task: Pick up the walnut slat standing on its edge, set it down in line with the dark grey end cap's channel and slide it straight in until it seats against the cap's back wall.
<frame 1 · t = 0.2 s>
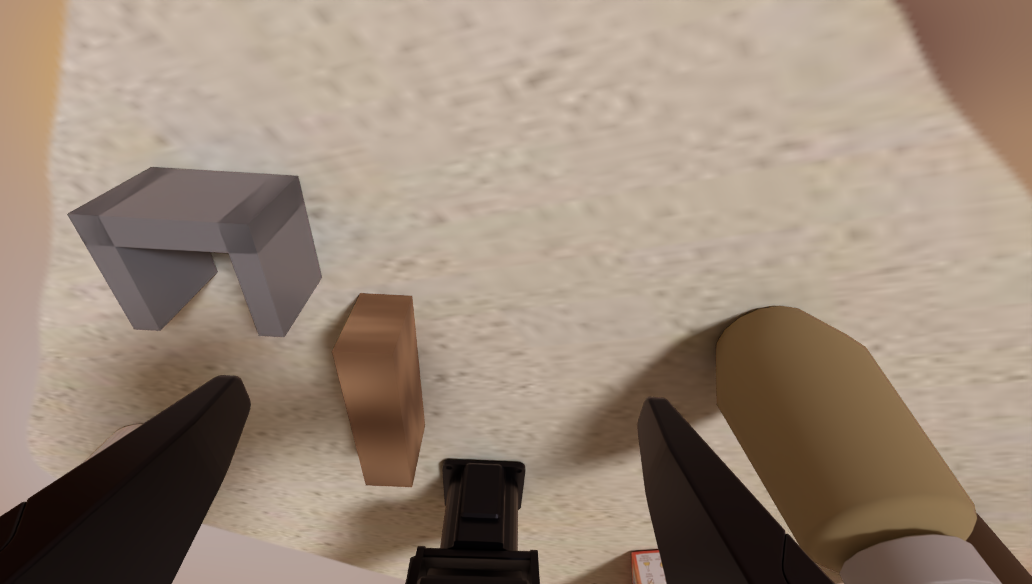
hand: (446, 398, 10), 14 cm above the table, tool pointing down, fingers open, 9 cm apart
olive oil: (915, 528, 42), on the table
end cap: (243, 226, 24), on the table
cracker box: (658, 575, 48), on the table
slat: (397, 365, 30), on the table
ramekin: (171, 450, 36), on the table
squeeze bottle: (761, 338, 28), on the table
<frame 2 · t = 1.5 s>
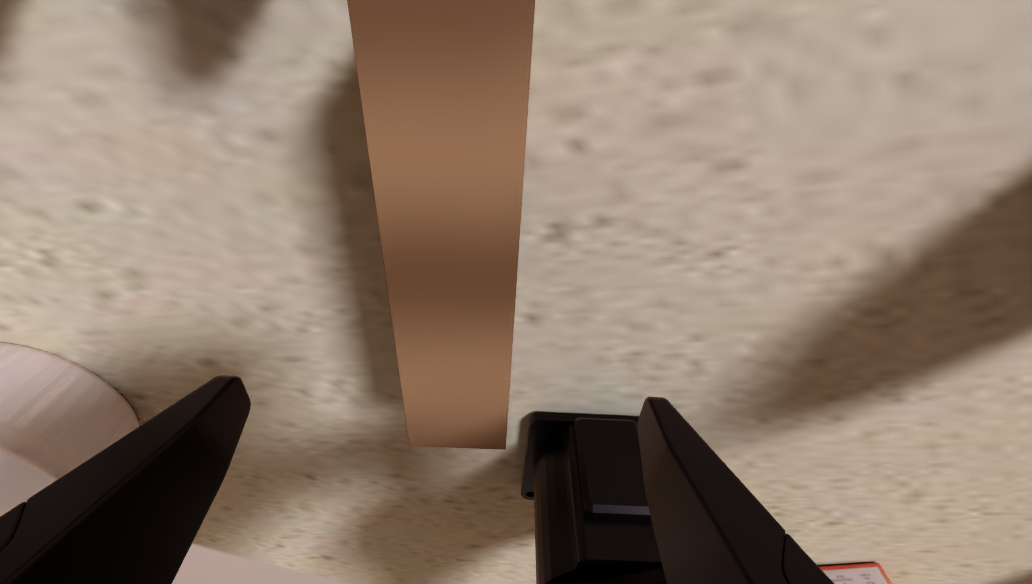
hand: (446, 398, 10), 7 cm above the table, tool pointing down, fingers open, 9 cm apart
slat: (470, 202, 15), on the table
ramekin: (53, 397, 21), on the table
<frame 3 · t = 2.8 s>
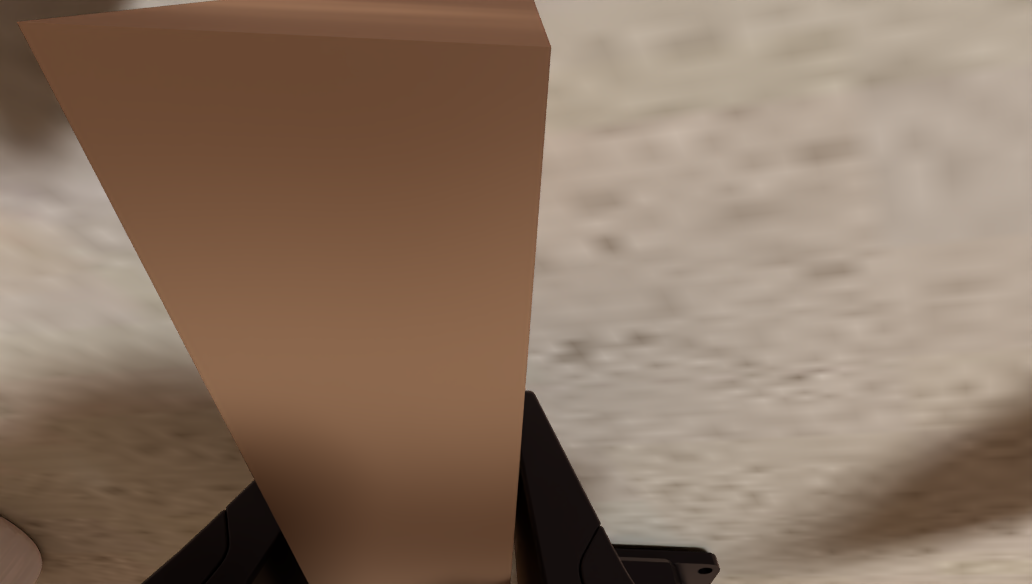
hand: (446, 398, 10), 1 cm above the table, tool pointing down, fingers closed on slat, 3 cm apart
slat: (449, 314, 10), on the table, touching gripper
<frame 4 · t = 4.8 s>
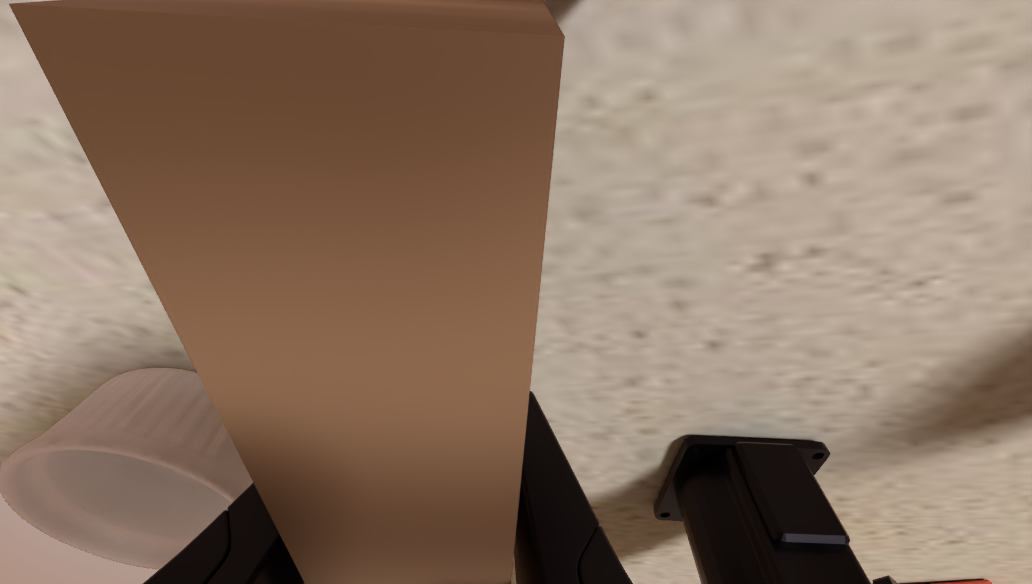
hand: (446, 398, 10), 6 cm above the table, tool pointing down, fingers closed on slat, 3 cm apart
slat: (449, 313, 10), point 5 cm above the table, touching gripper
ramekin: (203, 420, 21), on the table
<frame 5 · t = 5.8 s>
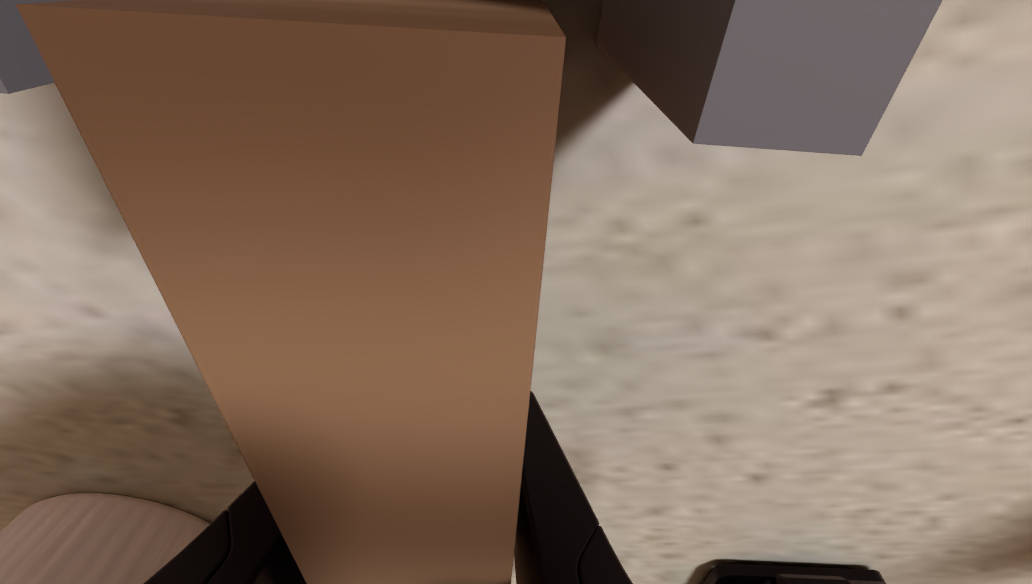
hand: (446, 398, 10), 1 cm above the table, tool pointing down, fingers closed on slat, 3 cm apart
slat: (450, 312, 10), on the table, touching gripper
ramekin: (149, 538, 18), on the table
when the fingers open (1 cm above the table, at t = 6.7 s): slat stays where it is, on the table.
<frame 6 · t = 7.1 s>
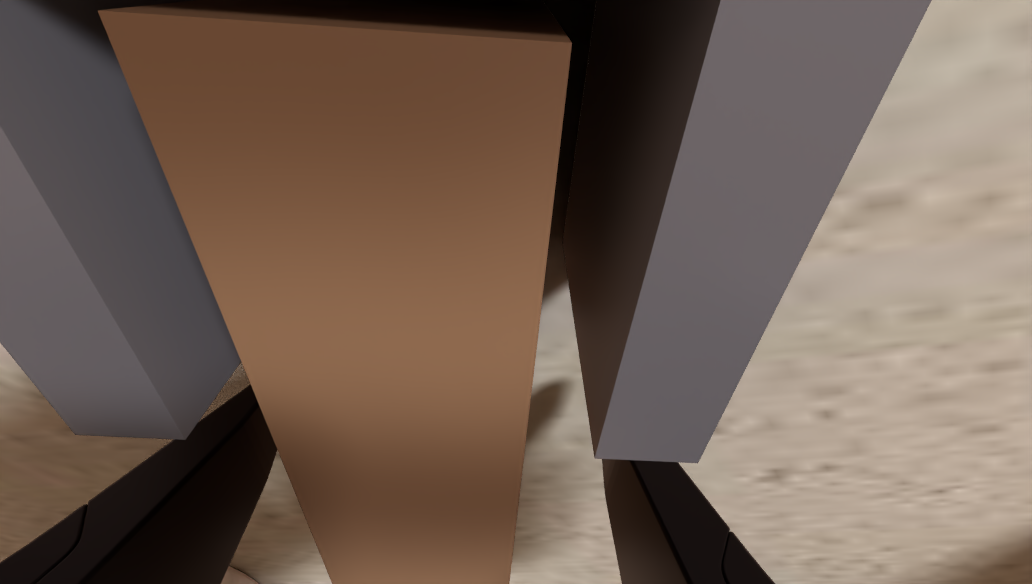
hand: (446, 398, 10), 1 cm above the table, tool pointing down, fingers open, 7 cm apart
end cap: (445, 74, 7), on the table
slat: (453, 302, 10), on the table
ramekin: (183, 581, 20), on the table
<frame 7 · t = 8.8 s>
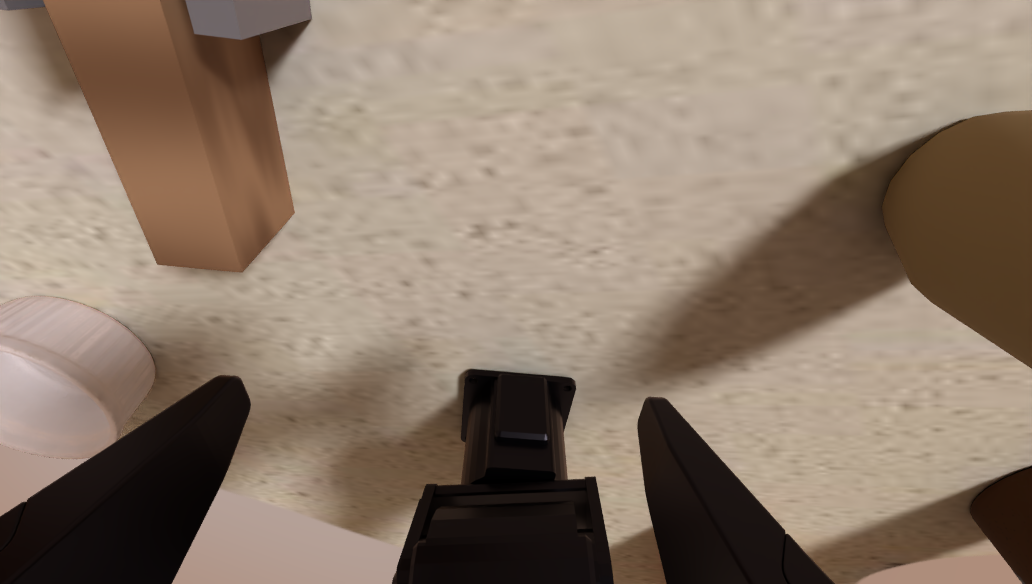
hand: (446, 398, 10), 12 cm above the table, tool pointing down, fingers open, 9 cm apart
slat: (227, 62, 17), on the table
ramekin: (87, 344, 26), on the table
squeeze bottle: (951, 180, 20), on the table
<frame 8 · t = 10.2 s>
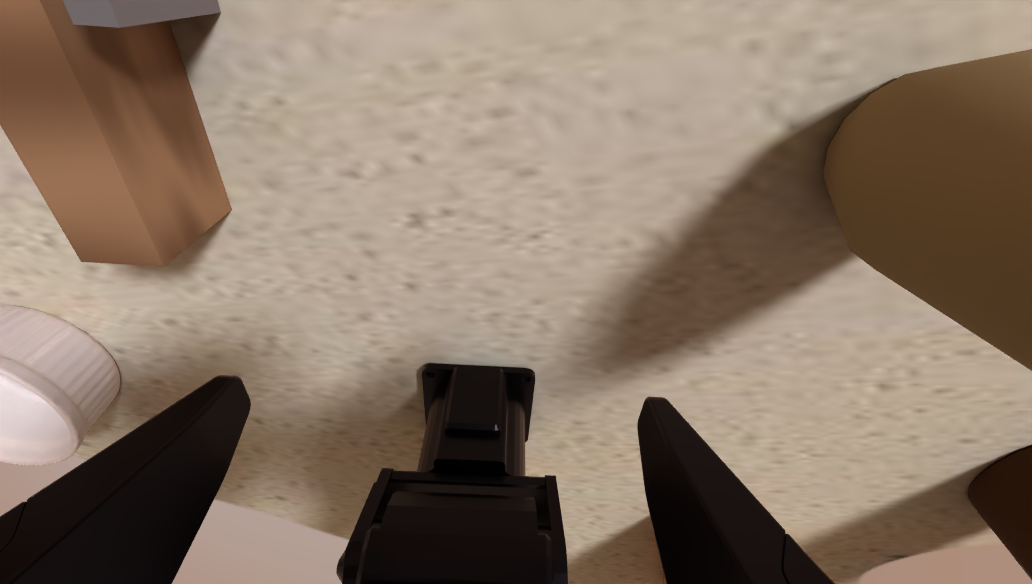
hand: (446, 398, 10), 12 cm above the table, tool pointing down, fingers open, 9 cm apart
slat: (146, 61, 17), on the table
ramekin: (52, 352, 26), on the table
squeeze bottle: (893, 143, 19), on the table
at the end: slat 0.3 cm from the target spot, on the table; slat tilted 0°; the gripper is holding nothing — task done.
